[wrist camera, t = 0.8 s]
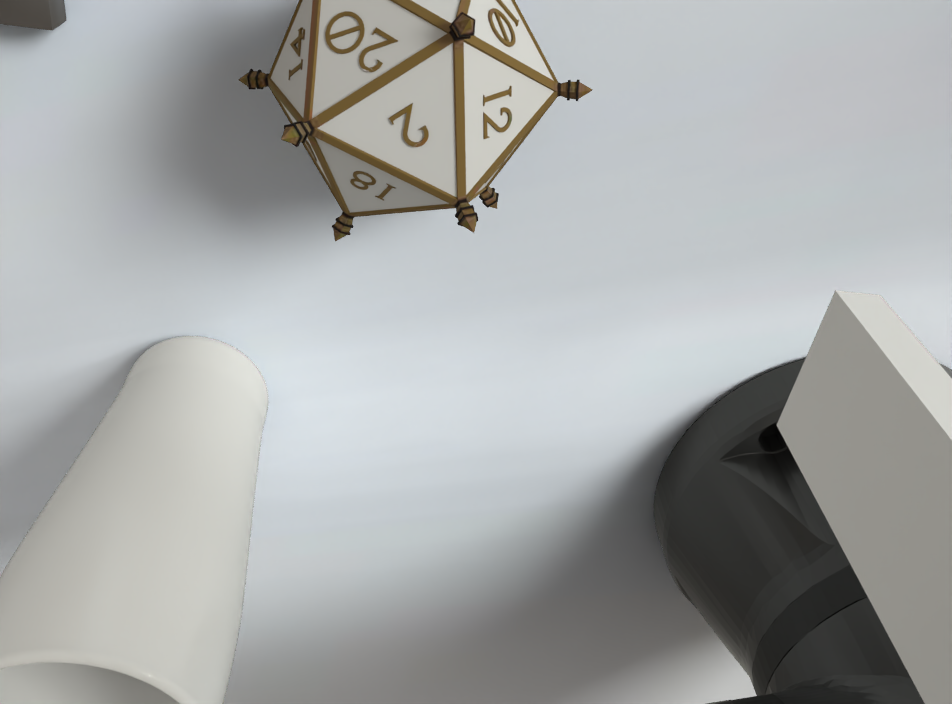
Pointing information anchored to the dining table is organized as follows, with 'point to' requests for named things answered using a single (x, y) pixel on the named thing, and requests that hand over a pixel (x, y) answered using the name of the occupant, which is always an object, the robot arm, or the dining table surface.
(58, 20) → the plinth
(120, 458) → the drinking glass
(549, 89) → the game die
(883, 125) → the dining table surface
